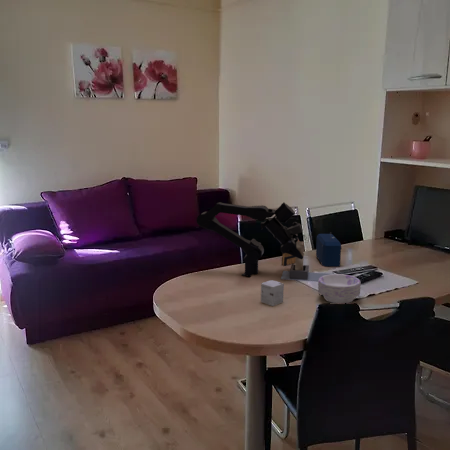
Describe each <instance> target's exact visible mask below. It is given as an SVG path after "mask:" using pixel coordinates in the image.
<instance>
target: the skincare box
mask: <svg viewBox="0 0 450 450" xmlns="http://www.w3.org/2000/svg"><path fill="white" fill-rule="evenodd" d="M284 286H285V283H282V282H280V281H277V280H273V279H271V280H270V279H269V280H267V281H264V282H262V283H261V285H260V287H261V288H260V302H261V303H262V304H265V305H269V306H271V307H275V306H277V305H280V304H282V303H284V290H285V289H284Z"/></svg>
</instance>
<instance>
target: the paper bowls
mask: <svg viewBox="0 0 450 450" xmlns="http://www.w3.org/2000/svg"><path fill="white" fill-rule="evenodd" d="M328 274H329V275H324V276H321V277H320V278H319V280H318V282H317V285H318V287H317V290H318V293H319V294H320V295H322V296H323V298H324V300H326V301H327V302H328V303H331V304H336V303H346V304H349V303H352V302H353V301H354V299H355V298H357V297H359V296H360V294H361V289H362V287H361V285H362V283H361V280H360V279H359V278H357V277H356V276H353V275H349V274H342V273H341V274H340V273H328Z"/></svg>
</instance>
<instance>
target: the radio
mask: <svg viewBox="0 0 450 450" xmlns="http://www.w3.org/2000/svg"><path fill="white" fill-rule="evenodd" d="M315 246H316V248H315V252H316V253H315V256H316V258H317V259H318V260H319V262H320V264H321V265H322V266H323V267H327V268H328V267H331V268H332V267H335V268H337V267H338V268H339V267H340V266H341V256H342V255H341V254H342V253H341V252H342V244H341V242H340V241H339V239H337V238H336V236H334V234H332V233H318V234H317V235H316V244H315Z"/></svg>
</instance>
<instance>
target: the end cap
mask: <svg viewBox="0 0 450 450" xmlns="http://www.w3.org/2000/svg"><path fill="white" fill-rule="evenodd" d="M289 271H290V279H302V280H308V274H309V272H310V265H308V264H303V271H301V270H295V264H291V265H290V268H289Z"/></svg>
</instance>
